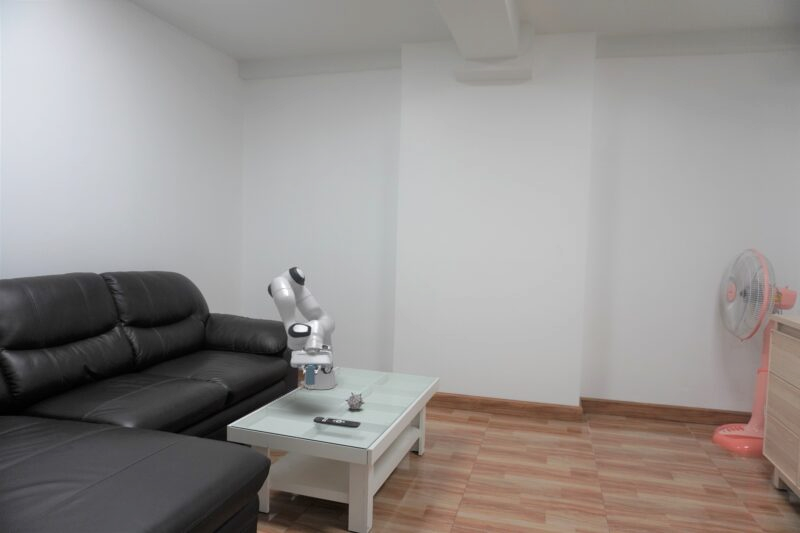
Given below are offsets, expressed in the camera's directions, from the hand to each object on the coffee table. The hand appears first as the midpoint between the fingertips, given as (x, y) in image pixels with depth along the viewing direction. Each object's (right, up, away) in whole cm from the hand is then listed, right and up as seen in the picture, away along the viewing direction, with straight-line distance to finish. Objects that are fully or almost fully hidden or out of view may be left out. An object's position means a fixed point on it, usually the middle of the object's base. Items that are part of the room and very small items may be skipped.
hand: (310, 374), depth 259 cm
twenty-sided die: (+20, -20, +10) cm, 30 cm away
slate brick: (0, -5, +1) cm, 5 cm away
